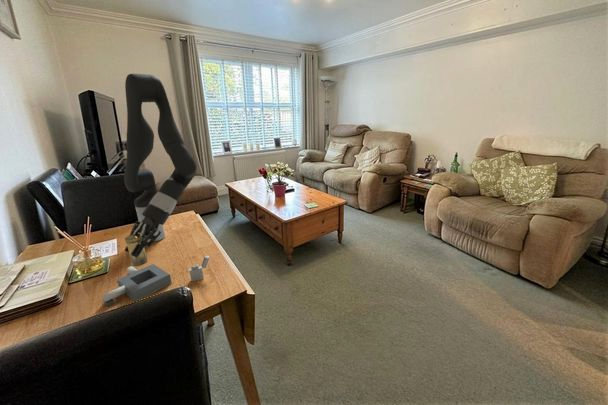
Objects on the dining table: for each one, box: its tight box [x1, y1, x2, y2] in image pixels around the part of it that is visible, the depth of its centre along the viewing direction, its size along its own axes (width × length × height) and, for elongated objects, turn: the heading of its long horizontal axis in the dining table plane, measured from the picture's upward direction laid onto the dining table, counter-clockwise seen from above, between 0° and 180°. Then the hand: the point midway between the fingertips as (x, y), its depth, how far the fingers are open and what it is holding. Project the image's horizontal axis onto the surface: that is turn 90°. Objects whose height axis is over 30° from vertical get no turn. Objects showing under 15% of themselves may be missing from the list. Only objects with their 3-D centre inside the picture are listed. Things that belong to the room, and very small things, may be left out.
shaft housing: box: [101, 263, 172, 307], centre depth 91 cm, size 17×18×4 cm
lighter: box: [188, 255, 210, 282], centre depth 95 cm, size 7×2×8 cm, turn 115°
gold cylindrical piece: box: [124, 234, 148, 267], centre depth 88 cm, size 5×5×10 cm
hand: (130, 253), depth 87 cm, fingers closed on gold cylindrical piece, 4 cm apart
